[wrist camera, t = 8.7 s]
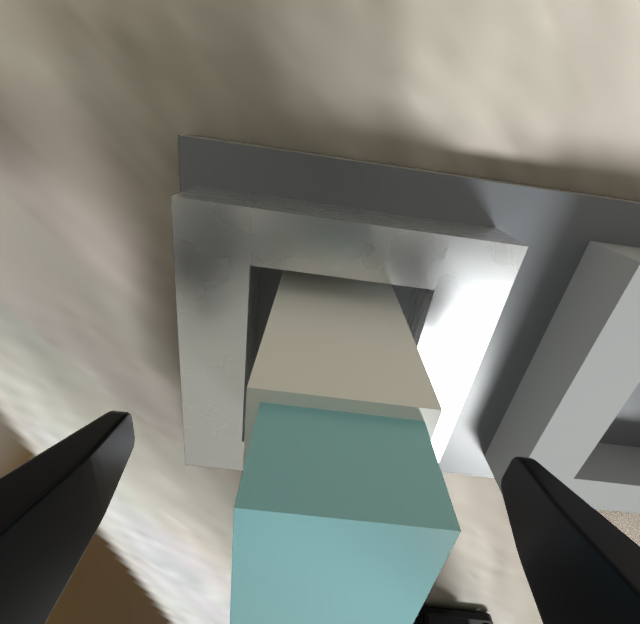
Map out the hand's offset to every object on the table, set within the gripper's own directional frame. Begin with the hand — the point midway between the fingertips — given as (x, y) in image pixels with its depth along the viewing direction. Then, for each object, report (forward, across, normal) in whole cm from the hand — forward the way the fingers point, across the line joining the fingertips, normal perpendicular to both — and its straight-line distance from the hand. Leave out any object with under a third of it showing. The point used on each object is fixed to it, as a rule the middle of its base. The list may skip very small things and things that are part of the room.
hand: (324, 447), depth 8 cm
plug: (+5, 0, 0) cm, 5 cm away
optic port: (+6, 0, 0) cm, 6 cm away
